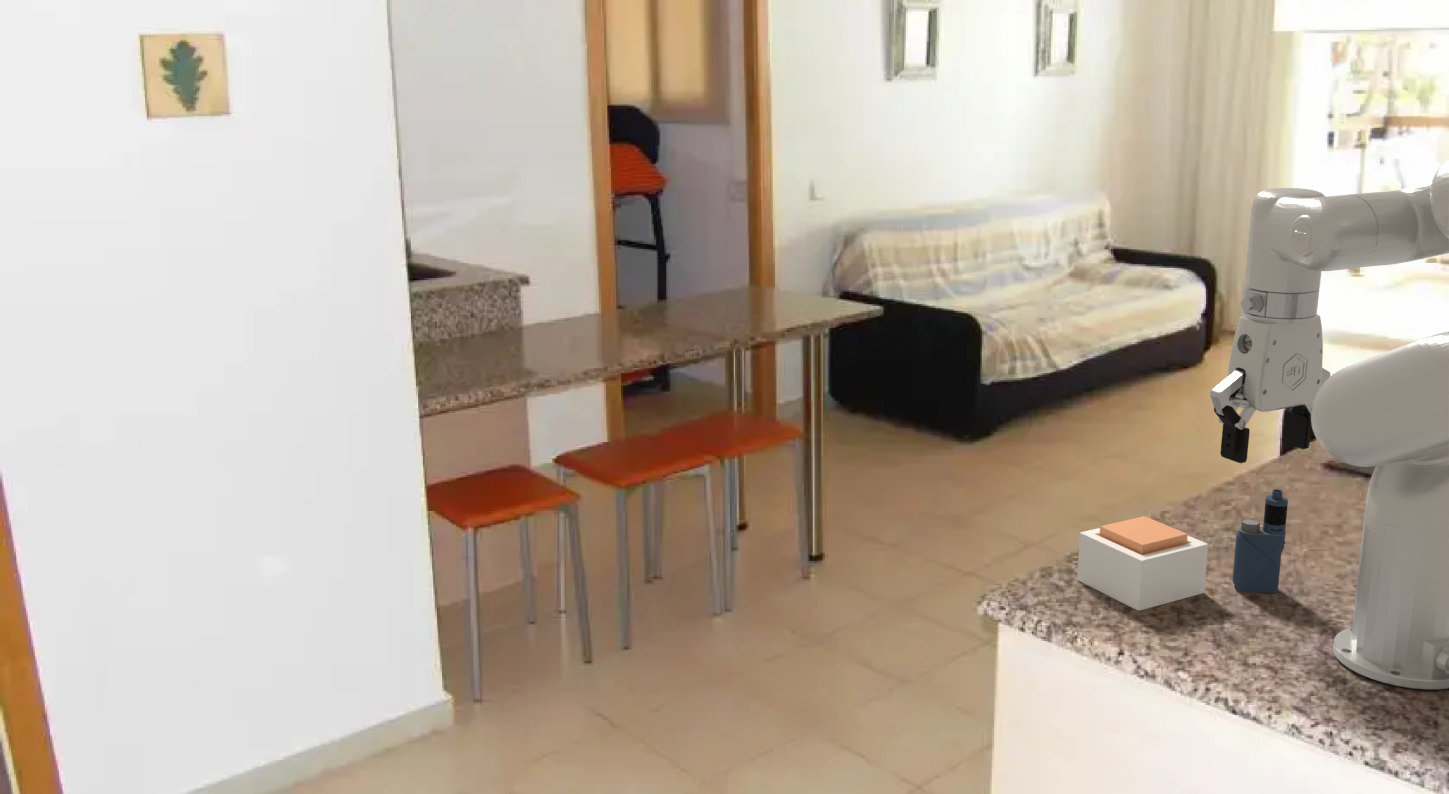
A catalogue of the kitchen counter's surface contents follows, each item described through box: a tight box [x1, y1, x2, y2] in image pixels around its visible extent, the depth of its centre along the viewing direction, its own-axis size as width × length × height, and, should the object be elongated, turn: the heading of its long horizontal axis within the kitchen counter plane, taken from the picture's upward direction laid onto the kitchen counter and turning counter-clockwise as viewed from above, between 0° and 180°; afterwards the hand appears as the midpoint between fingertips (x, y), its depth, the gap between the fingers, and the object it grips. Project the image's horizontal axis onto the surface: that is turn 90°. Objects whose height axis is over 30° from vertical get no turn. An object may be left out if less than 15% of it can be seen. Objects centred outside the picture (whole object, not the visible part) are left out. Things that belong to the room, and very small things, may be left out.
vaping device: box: [1232, 488, 1289, 594], centre depth 144 cm, size 3×5×12 cm, turn 79°
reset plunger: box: [1099, 515, 1189, 555], centre depth 146 cm, size 7×7×3 cm
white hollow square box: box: [1076, 527, 1209, 612], centre depth 146 cm, size 10×10×6 cm
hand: (1264, 452), depth 142 cm, fingers open, 9 cm apart
